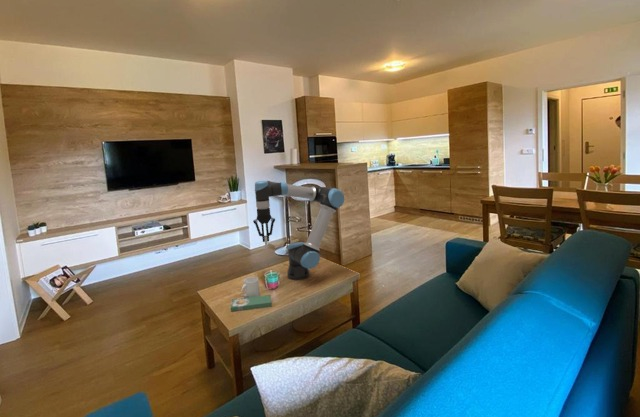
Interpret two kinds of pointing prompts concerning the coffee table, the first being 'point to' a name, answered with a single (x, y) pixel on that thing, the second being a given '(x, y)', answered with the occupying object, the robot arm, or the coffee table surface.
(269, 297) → the putting strip
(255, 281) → the mug
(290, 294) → the coffee table surface
